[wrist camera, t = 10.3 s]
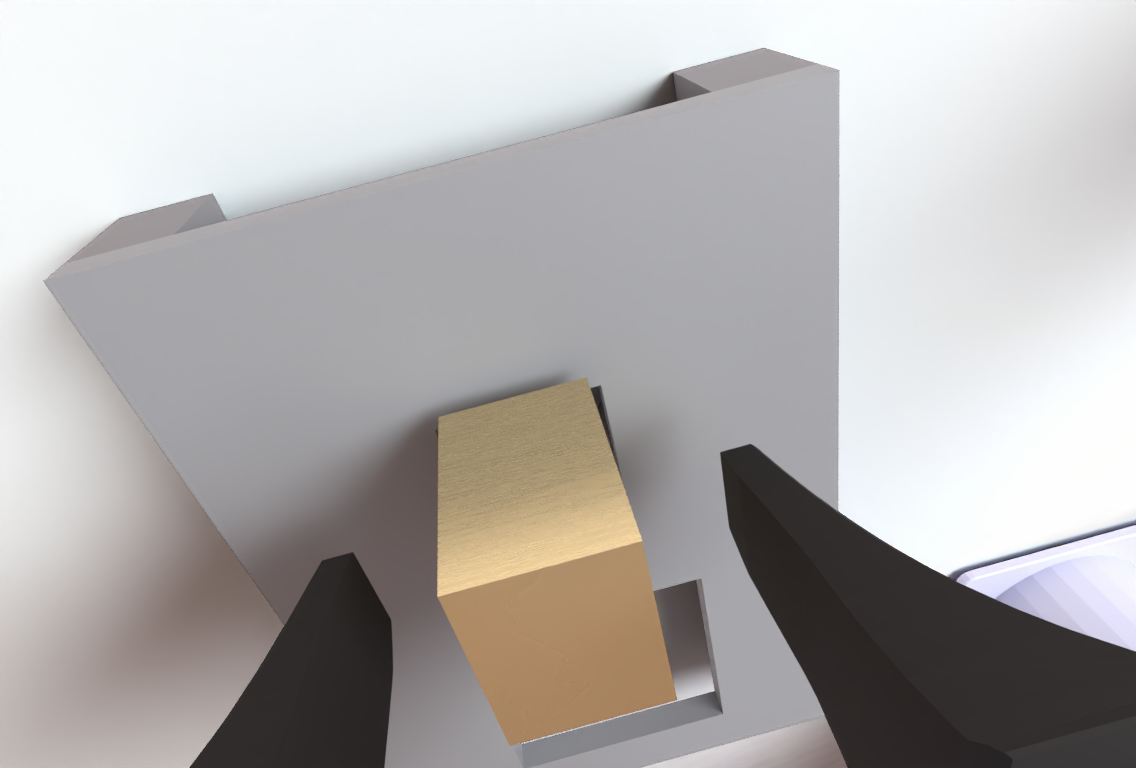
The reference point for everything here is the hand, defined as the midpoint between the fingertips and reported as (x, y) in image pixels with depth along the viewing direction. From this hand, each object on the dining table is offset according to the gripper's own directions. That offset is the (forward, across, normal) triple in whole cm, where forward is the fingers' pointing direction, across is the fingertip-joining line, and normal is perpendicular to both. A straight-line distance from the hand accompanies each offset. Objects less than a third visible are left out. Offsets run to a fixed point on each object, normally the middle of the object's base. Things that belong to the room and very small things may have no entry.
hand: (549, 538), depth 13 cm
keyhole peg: (+6, 0, 0) cm, 6 cm away
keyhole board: (+6, 0, +4) cm, 7 cm away
